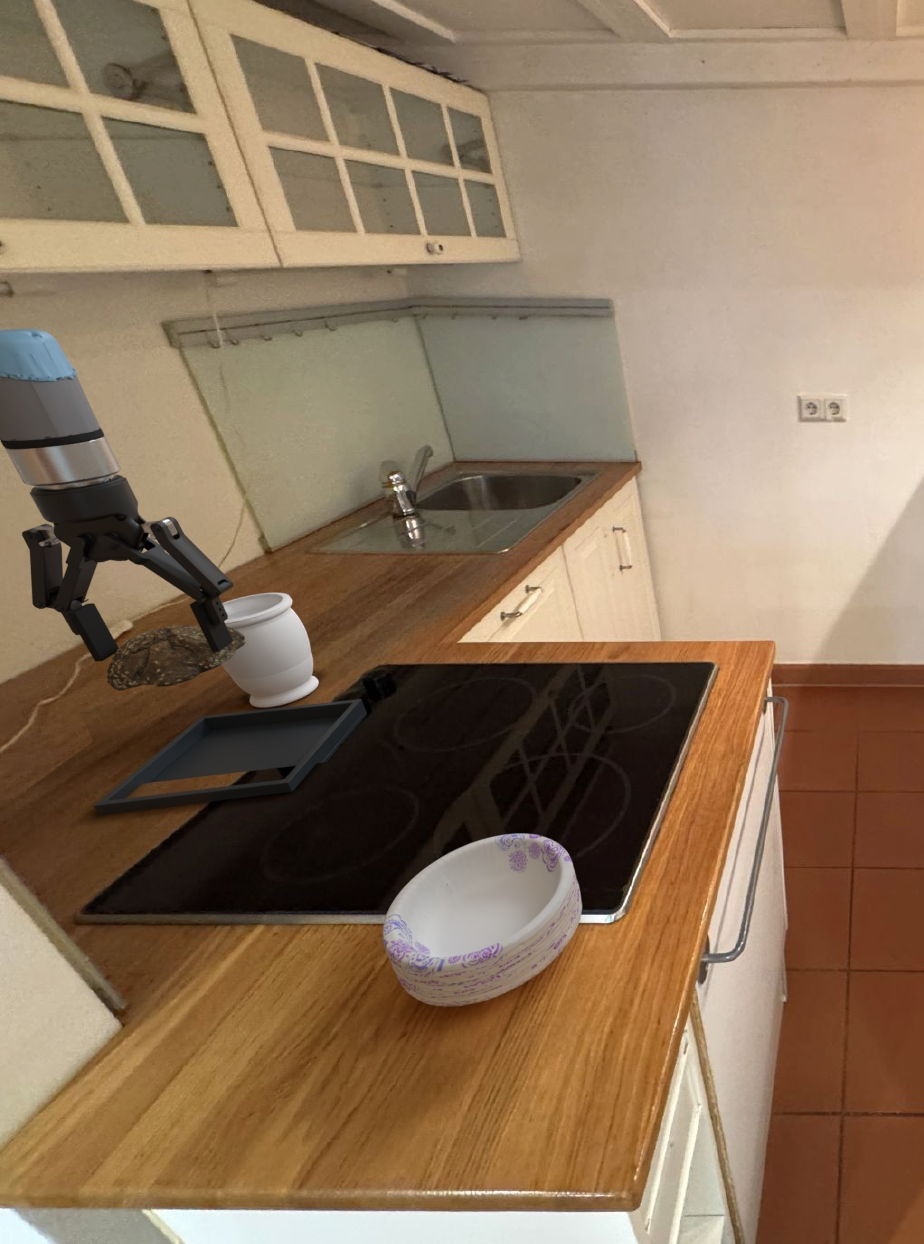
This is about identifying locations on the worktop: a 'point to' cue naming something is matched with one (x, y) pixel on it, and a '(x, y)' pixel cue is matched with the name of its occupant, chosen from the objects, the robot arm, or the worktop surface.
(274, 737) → the bread tray
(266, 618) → the jar
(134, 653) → the bread roll
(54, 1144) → the worktop surface
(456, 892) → the paper bowls
